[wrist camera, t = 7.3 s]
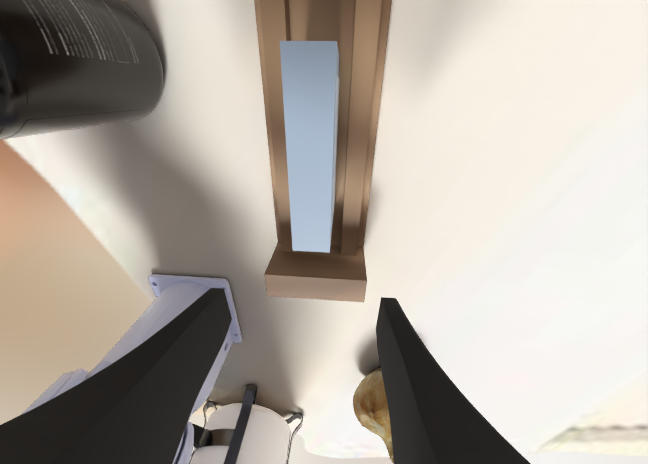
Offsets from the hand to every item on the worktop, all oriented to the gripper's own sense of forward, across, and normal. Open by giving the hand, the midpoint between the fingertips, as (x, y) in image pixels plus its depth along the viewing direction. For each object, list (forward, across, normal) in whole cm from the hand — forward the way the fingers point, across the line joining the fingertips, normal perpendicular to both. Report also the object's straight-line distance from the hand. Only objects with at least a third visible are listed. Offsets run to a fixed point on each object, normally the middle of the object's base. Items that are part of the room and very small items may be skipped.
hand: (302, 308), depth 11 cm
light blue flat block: (+9, 0, -6) cm, 10 cm away
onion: (+10, -8, +21) cm, 25 cm away
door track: (+10, 0, -6) cm, 11 cm away
